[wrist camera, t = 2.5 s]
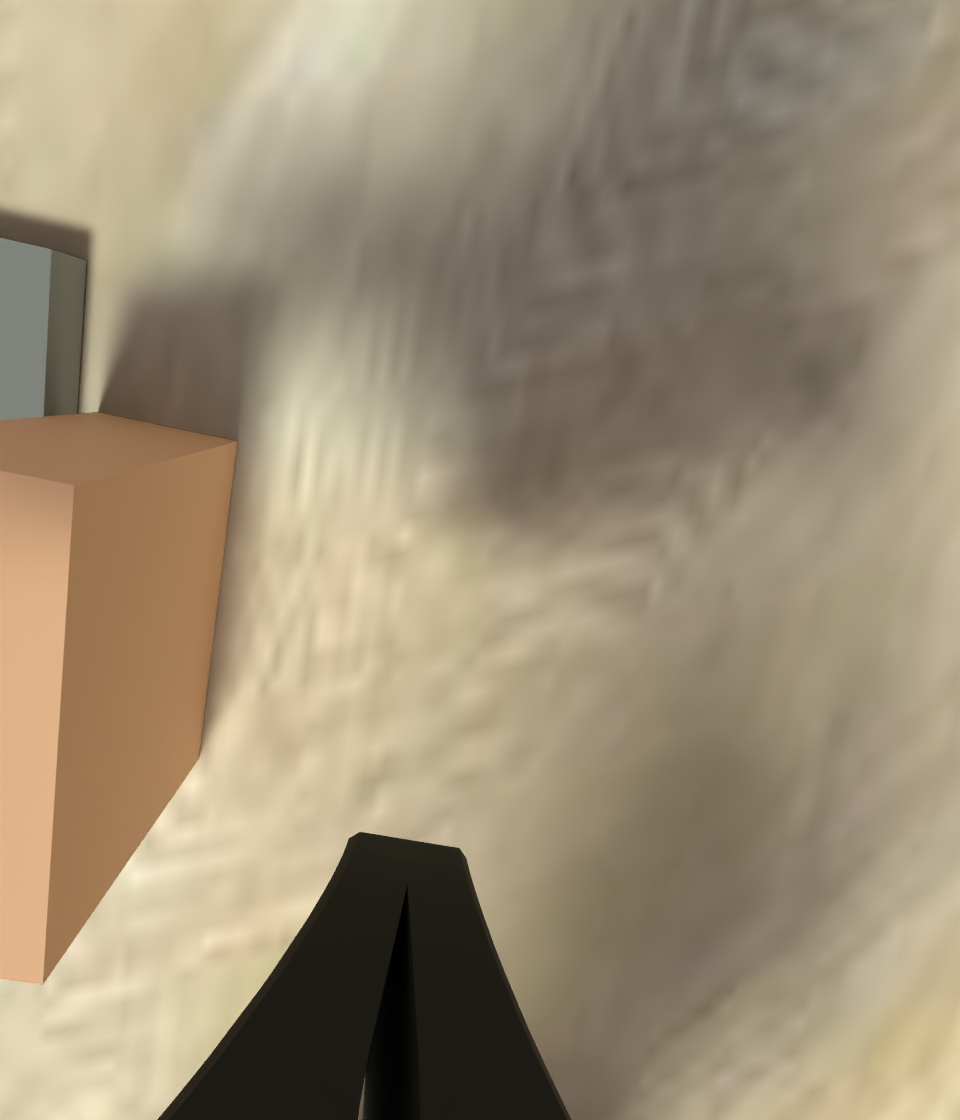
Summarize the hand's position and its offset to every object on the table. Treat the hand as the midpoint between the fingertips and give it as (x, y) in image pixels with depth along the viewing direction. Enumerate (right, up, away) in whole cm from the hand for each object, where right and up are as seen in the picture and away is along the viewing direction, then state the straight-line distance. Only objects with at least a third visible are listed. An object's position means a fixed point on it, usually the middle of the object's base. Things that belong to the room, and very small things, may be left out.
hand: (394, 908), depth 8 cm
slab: (-7, +3, +7) cm, 11 cm away
